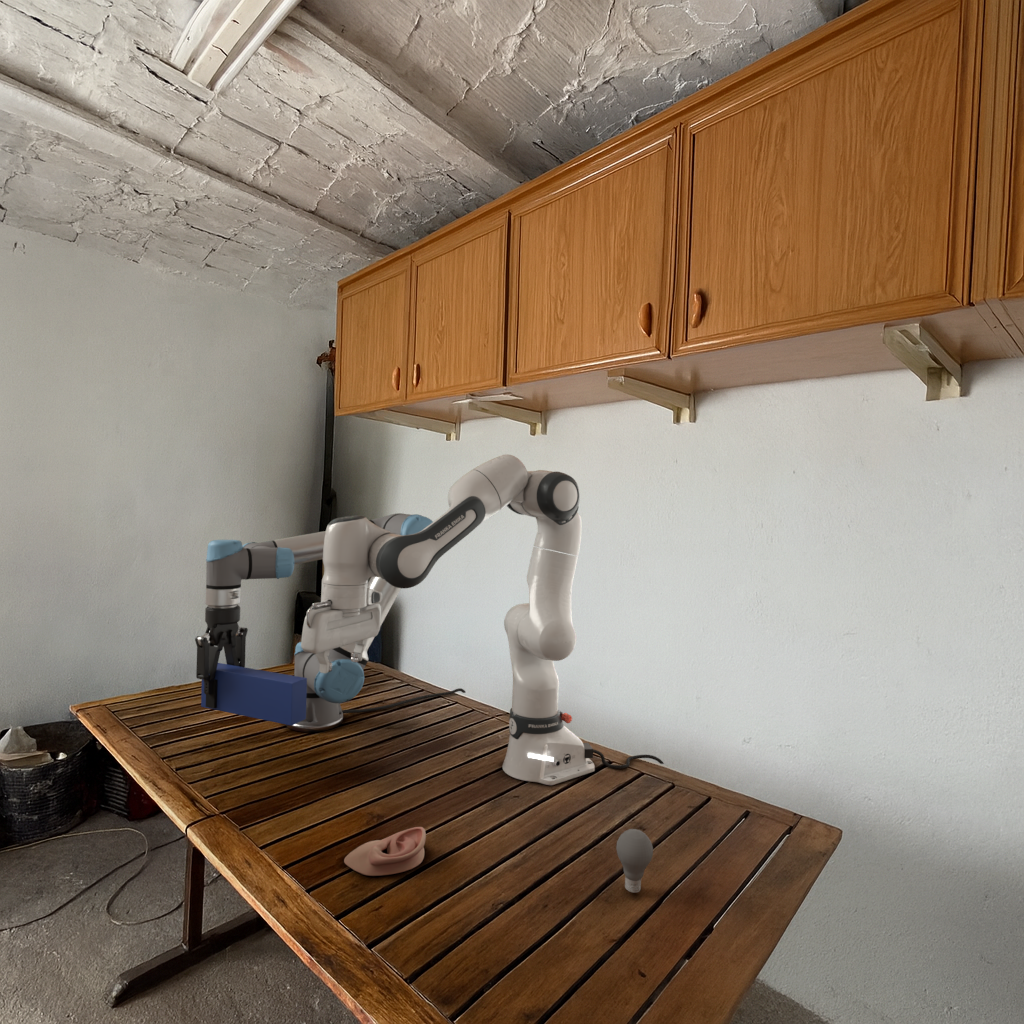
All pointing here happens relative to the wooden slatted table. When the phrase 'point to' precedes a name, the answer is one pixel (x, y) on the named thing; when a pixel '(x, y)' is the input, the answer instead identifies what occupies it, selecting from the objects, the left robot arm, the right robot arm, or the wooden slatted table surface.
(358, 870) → the anatomical model
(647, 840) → the light bulb
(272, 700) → the bar
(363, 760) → the wooden slatted table surface
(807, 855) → the wooden slatted table surface
